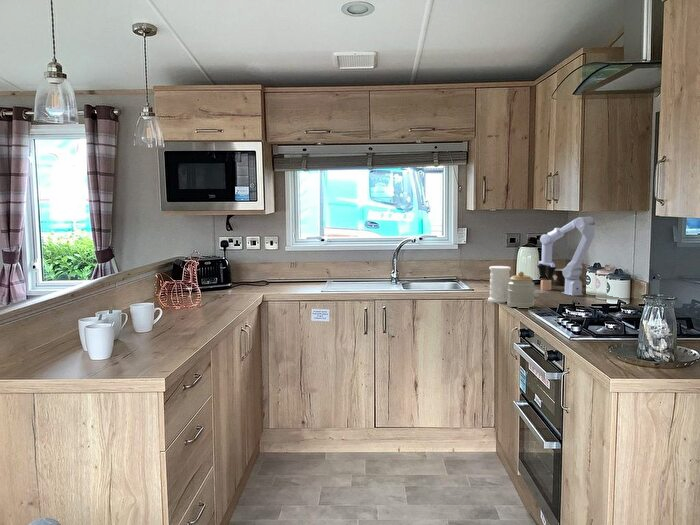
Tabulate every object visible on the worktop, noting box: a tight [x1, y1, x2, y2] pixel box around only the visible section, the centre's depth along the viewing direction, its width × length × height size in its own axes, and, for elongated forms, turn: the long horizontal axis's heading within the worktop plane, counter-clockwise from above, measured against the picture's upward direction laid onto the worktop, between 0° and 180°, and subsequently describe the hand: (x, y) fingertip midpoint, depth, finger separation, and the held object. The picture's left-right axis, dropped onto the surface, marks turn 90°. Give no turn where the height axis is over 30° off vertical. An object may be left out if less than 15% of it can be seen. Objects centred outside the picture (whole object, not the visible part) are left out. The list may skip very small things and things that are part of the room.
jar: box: [506, 271, 535, 308], centre depth 271 cm, size 13×13×18 cm
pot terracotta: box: [540, 279, 553, 291], centre depth 319 cm, size 6×6×6 cm
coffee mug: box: [551, 268, 565, 287], centre depth 337 cm, size 12×9×10 cm
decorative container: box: [487, 265, 512, 304], centre depth 287 cm, size 12×12×18 cm
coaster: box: [534, 289, 552, 295], centre depth 312 cm, size 10×10×1 cm
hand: (546, 277), depth 319 cm, fingers open, 7 cm apart
